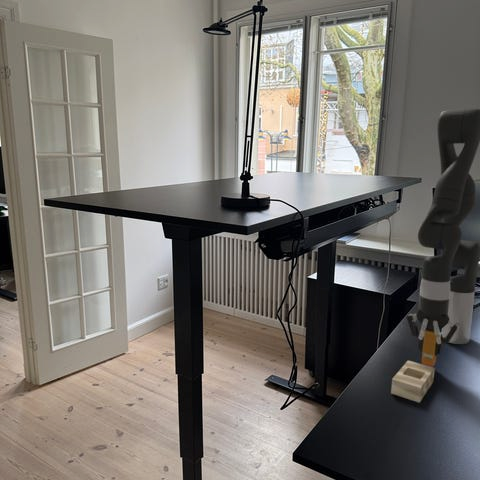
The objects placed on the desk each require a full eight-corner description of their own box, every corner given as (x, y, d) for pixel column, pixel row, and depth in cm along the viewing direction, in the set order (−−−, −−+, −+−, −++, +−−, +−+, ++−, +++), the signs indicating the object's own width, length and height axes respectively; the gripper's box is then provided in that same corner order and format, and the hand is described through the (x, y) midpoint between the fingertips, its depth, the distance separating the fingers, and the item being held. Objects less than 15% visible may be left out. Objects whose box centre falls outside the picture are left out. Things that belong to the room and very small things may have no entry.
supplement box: (434, 367, 122) (436, 333, 120) (421, 364, 124) (423, 330, 122) (436, 362, 125) (439, 329, 123) (424, 359, 127) (426, 326, 125)
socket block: (406, 373, 122) (407, 360, 122) (433, 381, 118) (434, 367, 118) (391, 393, 112) (392, 379, 112) (419, 402, 108) (420, 387, 107)
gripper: (465, 296, 119) (459, 354, 123) (412, 286, 128) (408, 342, 131) (459, 303, 114) (453, 365, 117) (404, 293, 122) (399, 351, 125)
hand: (429, 352), depth 124 cm, fingers closed on supplement box, 3 cm apart
